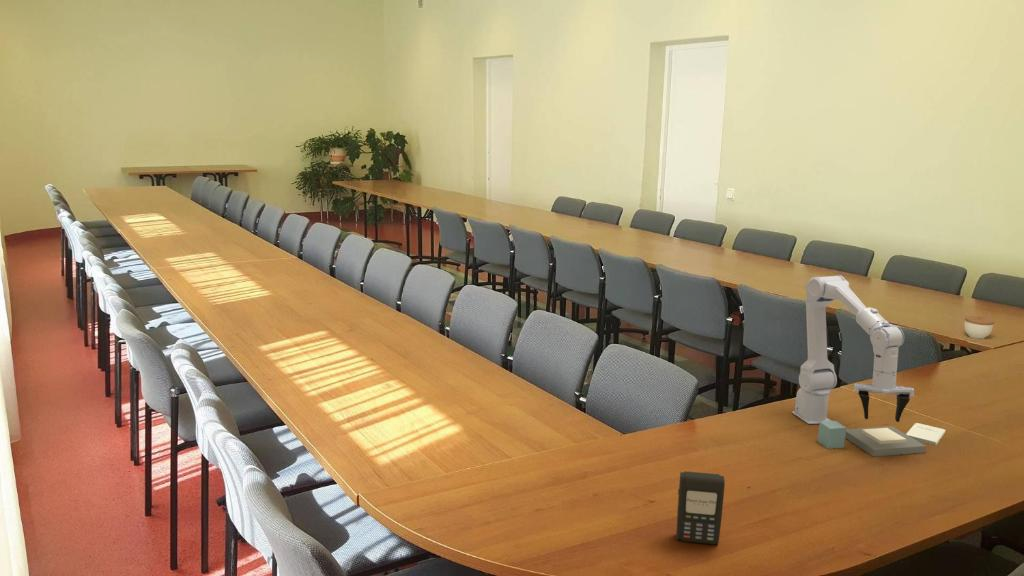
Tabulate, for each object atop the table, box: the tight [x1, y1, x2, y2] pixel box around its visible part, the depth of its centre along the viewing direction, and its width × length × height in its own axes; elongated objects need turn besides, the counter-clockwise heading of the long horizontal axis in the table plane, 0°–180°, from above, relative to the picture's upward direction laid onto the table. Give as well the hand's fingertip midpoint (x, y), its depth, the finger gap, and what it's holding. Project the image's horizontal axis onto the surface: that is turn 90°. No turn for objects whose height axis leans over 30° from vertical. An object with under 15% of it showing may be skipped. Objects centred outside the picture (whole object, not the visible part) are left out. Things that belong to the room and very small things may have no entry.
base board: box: [845, 425, 927, 457], centre depth 218 cm, size 14×16×3 cm
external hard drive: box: [905, 422, 946, 446], centre depth 226 cm, size 2×8×12 cm
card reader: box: [676, 471, 726, 545], centre depth 165 cm, size 9×4×15 cm, turn 81°
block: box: [816, 420, 847, 450], centre depth 217 cm, size 5×5×6 cm
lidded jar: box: [964, 314, 995, 340], centre depth 332 cm, size 11×11×9 cm
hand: (881, 419), depth 211 cm, fingers open, 7 cm apart
